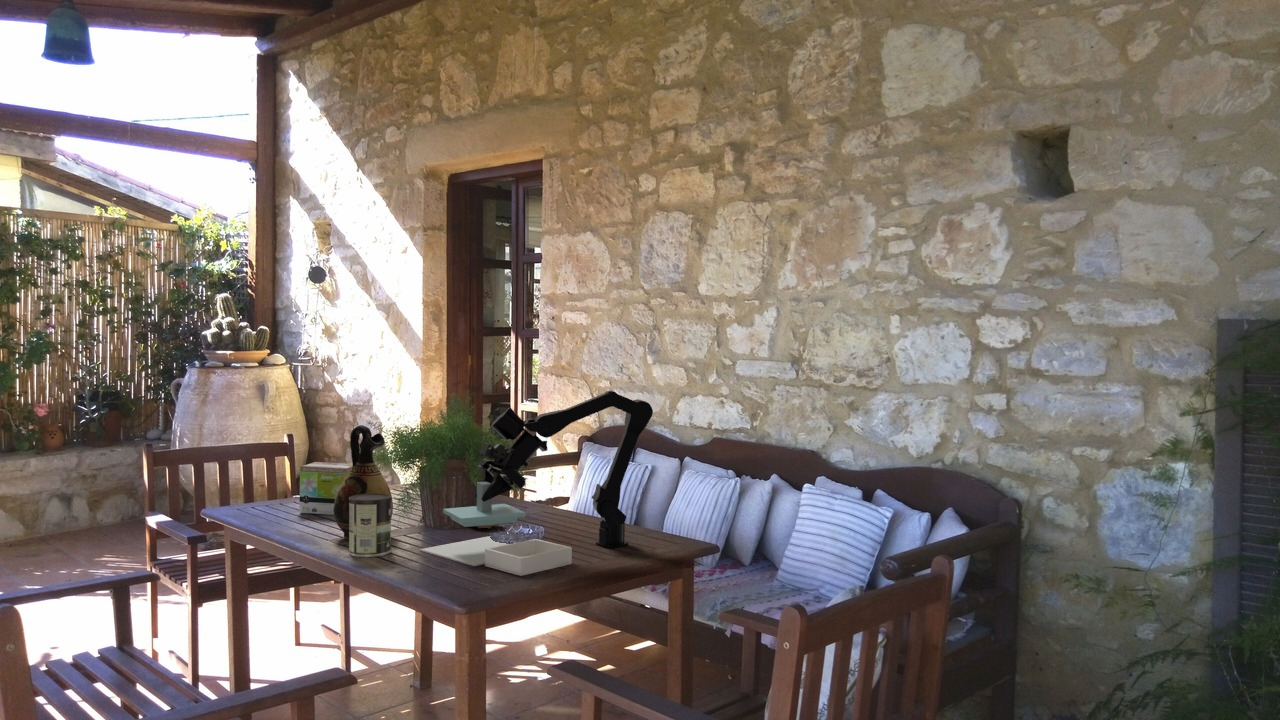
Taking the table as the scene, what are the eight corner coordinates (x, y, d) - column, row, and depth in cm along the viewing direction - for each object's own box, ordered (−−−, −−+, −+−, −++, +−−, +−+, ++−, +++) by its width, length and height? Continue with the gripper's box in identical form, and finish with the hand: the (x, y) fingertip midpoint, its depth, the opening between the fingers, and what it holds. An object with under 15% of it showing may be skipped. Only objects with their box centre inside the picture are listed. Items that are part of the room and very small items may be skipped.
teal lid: (505, 513, 242) (505, 477, 242) (525, 522, 230) (526, 484, 230) (443, 518, 234) (443, 481, 234) (460, 528, 222) (461, 489, 222)
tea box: (298, 514, 278) (298, 465, 277) (314, 508, 288) (314, 461, 287) (345, 516, 276) (346, 467, 275) (360, 510, 286) (360, 462, 285)
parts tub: (535, 554, 230) (535, 538, 230) (571, 563, 222) (571, 547, 222) (484, 565, 219) (485, 549, 218) (520, 575, 210) (521, 558, 210)
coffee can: (385, 546, 237) (385, 492, 237) (395, 555, 228) (396, 498, 228) (344, 550, 232) (344, 494, 232) (353, 559, 223) (353, 501, 223)
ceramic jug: (404, 537, 248) (405, 426, 247) (354, 546, 236) (355, 430, 235) (367, 528, 259) (368, 422, 258) (318, 537, 247) (319, 425, 246)
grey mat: (488, 537, 249) (488, 536, 249) (543, 551, 234) (543, 549, 234) (420, 550, 233) (420, 549, 233) (474, 566, 218) (474, 564, 218)
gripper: (485, 428, 242) (444, 473, 236) (514, 435, 226) (471, 483, 220) (512, 456, 246) (473, 501, 240) (543, 465, 230) (501, 513, 225)
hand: (479, 499), depth 231 cm, fingers closed on teal lid, 4 cm apart
